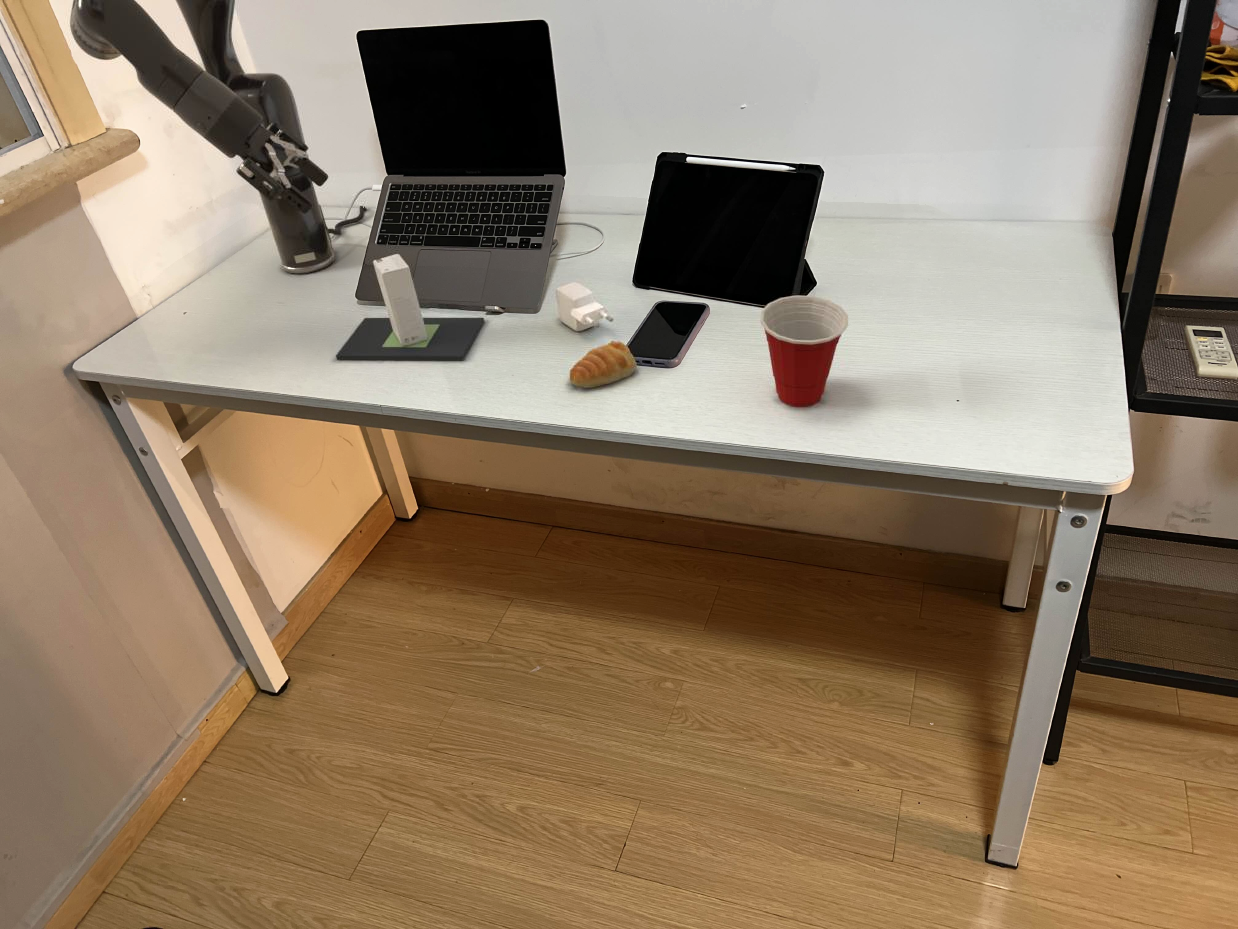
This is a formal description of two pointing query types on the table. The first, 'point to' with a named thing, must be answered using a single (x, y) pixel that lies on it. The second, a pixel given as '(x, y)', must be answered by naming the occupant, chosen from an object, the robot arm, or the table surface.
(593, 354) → the pastry
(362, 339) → the mat
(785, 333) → the plastic cup
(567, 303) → the power adapter
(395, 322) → the cosmetic box
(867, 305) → the table surface
